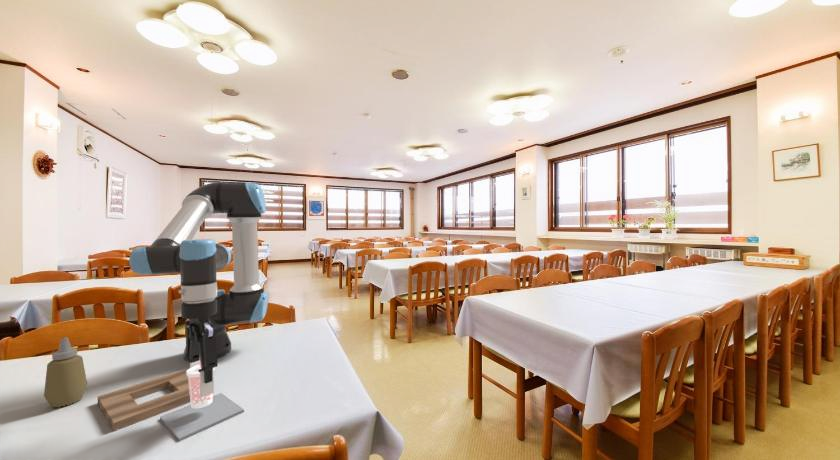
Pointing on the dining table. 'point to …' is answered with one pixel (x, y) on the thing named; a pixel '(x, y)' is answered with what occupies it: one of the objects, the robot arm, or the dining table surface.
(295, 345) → the dining table surface
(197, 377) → the beverage cup
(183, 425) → the rubber mat
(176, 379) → the pocket holder
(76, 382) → the squeeze bottle
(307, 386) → the dining table surface
